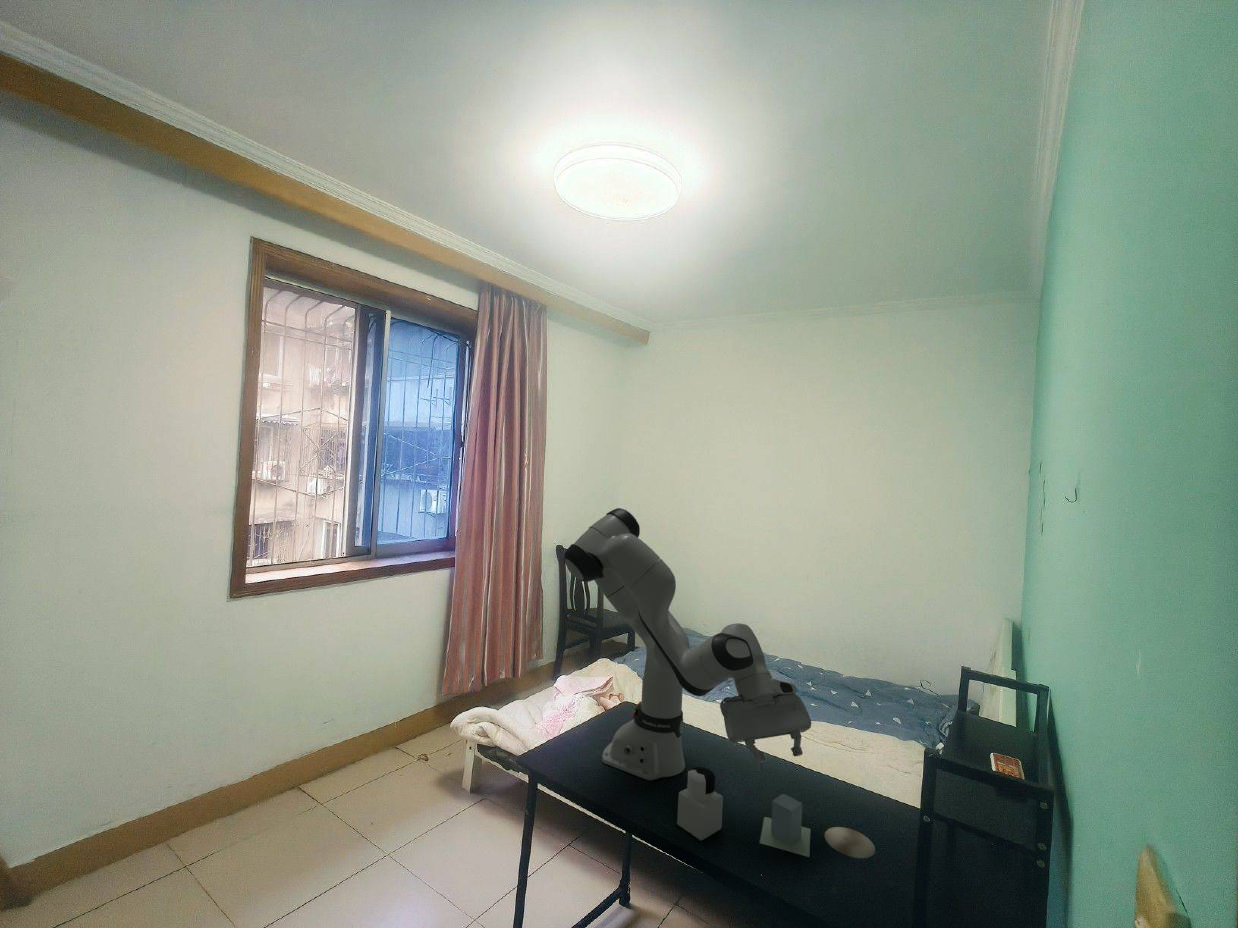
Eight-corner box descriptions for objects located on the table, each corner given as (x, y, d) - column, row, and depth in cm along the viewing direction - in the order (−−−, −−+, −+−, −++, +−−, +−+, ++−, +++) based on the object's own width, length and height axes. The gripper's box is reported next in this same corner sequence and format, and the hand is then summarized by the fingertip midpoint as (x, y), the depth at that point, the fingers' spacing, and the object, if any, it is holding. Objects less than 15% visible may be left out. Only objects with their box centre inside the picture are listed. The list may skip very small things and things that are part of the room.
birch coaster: (824, 850, 112) (824, 849, 112) (824, 823, 121) (824, 822, 121) (877, 864, 108) (877, 863, 108) (872, 835, 118) (872, 834, 118)
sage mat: (759, 843, 113) (759, 842, 113) (764, 817, 122) (764, 816, 122) (809, 857, 109) (809, 856, 109) (810, 829, 119) (810, 828, 119)
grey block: (770, 834, 116) (772, 800, 116) (782, 826, 119) (783, 793, 119) (790, 845, 113) (791, 810, 113) (801, 836, 116) (802, 802, 116)
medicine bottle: (697, 812, 123) (699, 759, 123) (722, 828, 117) (724, 773, 118) (676, 824, 118) (678, 769, 118) (701, 841, 113) (703, 783, 113)
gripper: (722, 693, 118) (743, 762, 109) (800, 683, 124) (826, 747, 116) (712, 703, 123) (731, 769, 114) (788, 693, 129) (811, 755, 120)
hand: (780, 758), depth 115 cm, fingers open, 8 cm apart
